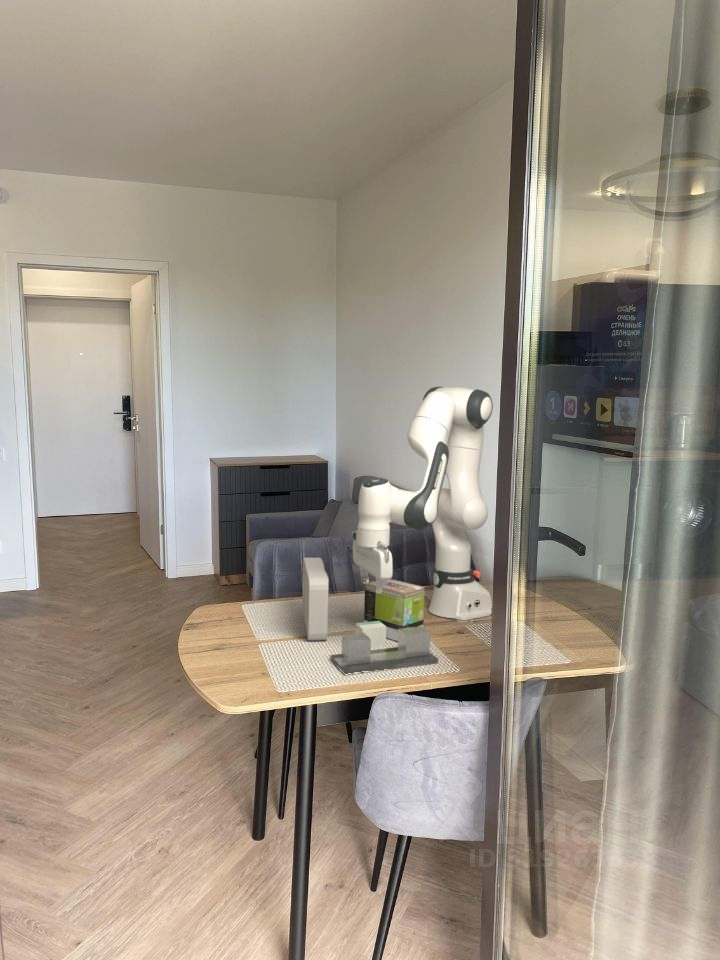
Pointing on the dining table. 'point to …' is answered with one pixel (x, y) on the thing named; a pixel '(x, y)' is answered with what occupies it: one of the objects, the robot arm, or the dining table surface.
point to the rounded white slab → (315, 599)
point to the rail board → (385, 652)
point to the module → (373, 632)
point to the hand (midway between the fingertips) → (371, 587)
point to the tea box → (394, 606)
